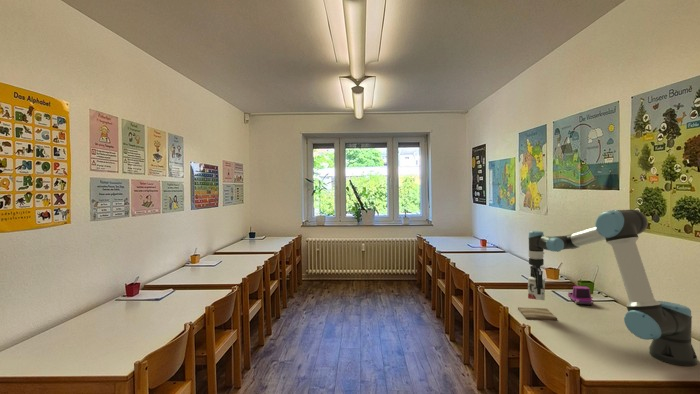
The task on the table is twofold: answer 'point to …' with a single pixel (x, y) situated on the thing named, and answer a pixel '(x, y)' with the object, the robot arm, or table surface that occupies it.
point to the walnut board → (537, 313)
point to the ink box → (532, 288)
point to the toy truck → (581, 295)
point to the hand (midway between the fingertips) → (536, 297)
